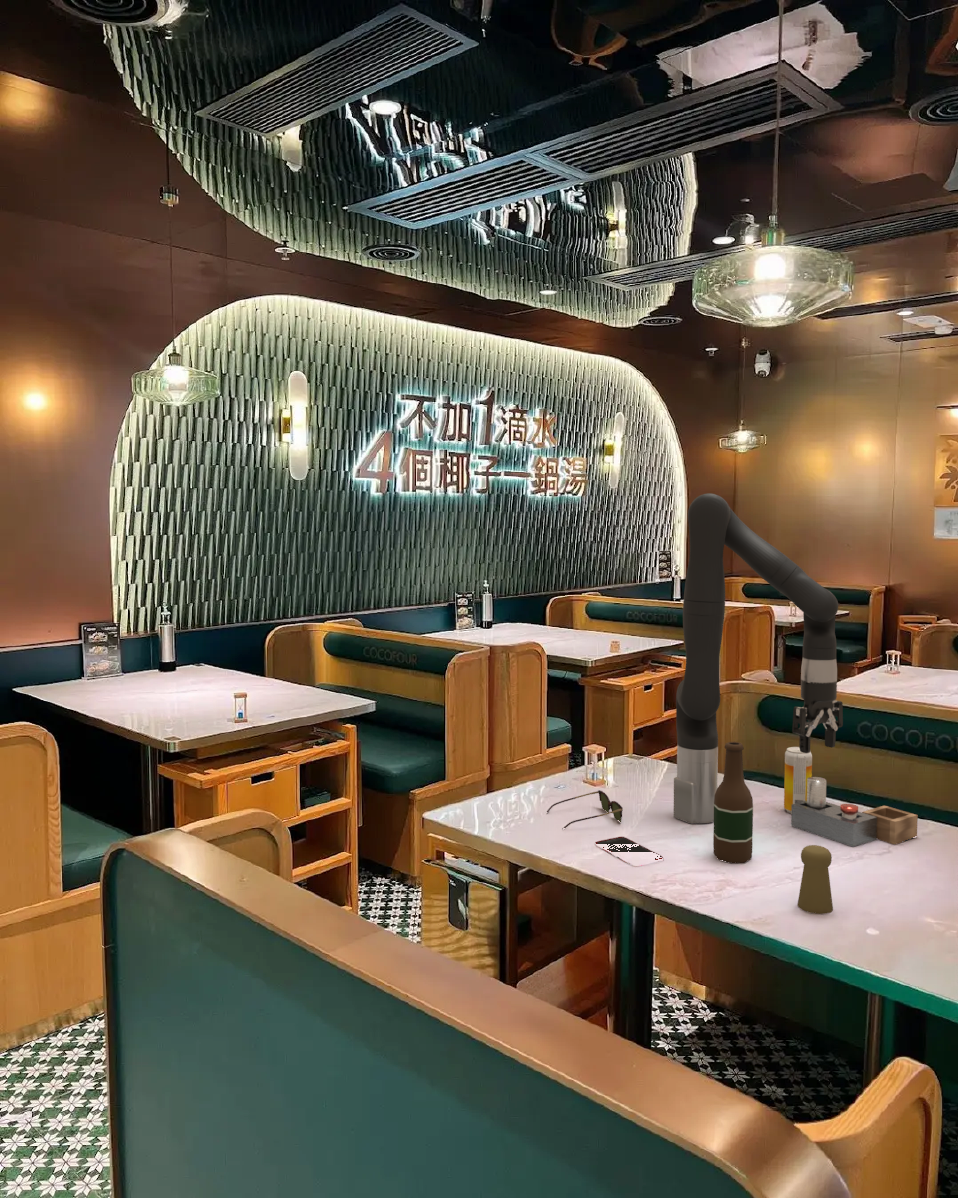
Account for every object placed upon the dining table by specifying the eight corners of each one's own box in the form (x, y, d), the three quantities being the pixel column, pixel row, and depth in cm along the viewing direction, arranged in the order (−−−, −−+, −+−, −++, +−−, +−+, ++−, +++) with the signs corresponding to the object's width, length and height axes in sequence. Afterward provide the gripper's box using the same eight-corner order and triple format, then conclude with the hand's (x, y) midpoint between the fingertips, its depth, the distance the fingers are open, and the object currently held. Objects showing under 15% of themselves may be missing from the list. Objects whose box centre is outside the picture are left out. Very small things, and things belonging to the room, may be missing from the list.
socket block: (852, 847, 194) (853, 824, 193) (791, 826, 207) (791, 804, 207) (876, 839, 198) (876, 817, 198) (814, 819, 212) (814, 798, 211)
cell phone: (622, 840, 201) (622, 835, 201) (665, 862, 188) (665, 857, 187) (593, 846, 197) (593, 841, 197) (634, 869, 184) (634, 864, 184)
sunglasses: (624, 827, 209) (622, 806, 208) (563, 839, 205) (561, 817, 205) (600, 808, 223) (599, 788, 222) (543, 818, 219) (541, 798, 219)
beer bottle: (753, 852, 191) (754, 740, 189) (751, 866, 184) (753, 749, 182) (714, 848, 194) (716, 737, 192) (711, 861, 186) (713, 746, 184)
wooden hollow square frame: (894, 844, 195) (895, 821, 194) (861, 834, 202) (862, 811, 201) (916, 837, 199) (917, 815, 199) (883, 827, 206) (884, 805, 205)
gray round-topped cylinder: (817, 831, 204) (818, 783, 203) (802, 826, 207) (803, 778, 206) (829, 827, 206) (830, 780, 205) (814, 823, 209) (815, 776, 208)
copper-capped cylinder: (850, 837, 197) (851, 810, 196) (836, 832, 200) (836, 805, 199) (861, 834, 199) (861, 807, 198) (846, 829, 202) (847, 802, 201)
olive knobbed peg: (791, 900, 167) (792, 842, 166) (823, 899, 168) (824, 841, 167) (806, 914, 161) (807, 854, 160) (839, 913, 162) (840, 853, 161)
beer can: (807, 807, 220) (808, 746, 219) (813, 816, 214) (815, 753, 213) (781, 807, 221) (782, 746, 219) (787, 815, 215) (788, 752, 213)
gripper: (825, 672, 210) (823, 741, 212) (783, 679, 203) (782, 750, 204) (853, 677, 204) (852, 748, 205) (812, 684, 197) (810, 758, 198)
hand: (817, 749), depth 205 cm, fingers open, 8 cm apart
